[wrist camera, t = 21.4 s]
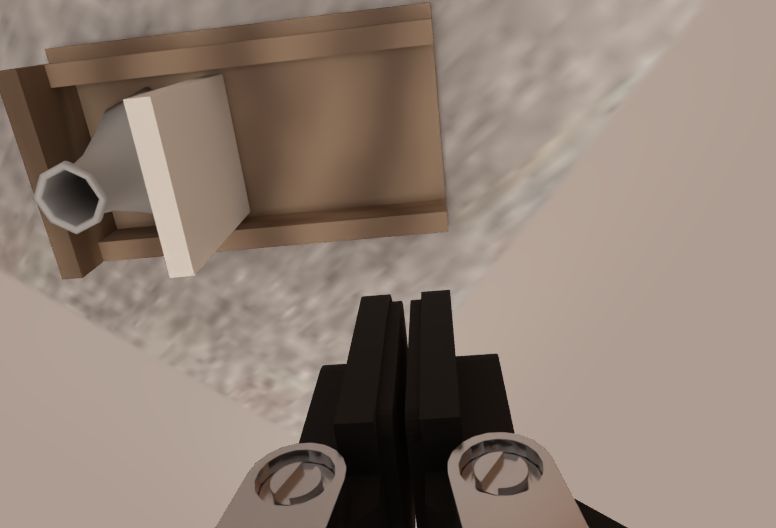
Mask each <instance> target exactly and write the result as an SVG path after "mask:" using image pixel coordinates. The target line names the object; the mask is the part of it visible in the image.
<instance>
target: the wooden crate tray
mask: <svg viewBox="0 0 776 528" xmlns="http://www.w3.org/2000/svg"><path fill="white" fill-rule="evenodd" d="M45 51H46V55H47V58H48V61H49V64H43V65H36V66H29V67H23V68H16V69H9V70H2V71H0V93H1V96H2V99H3V102H4V105H5V108H6V111H7V114H8V117H9V120H10V123H11V126H12V129H13V132H14V135H15V138H16V141H17V144H18V147H19V150H20V153H21V156H22V159H23V162H24V165H25V168H26V171H27V174H28V177H29V180H30V183H31V186H32V189H33V192H34V194H35V190H36V187H37V183H38V180H39V176H40V174H42V173H43V172H45V171H47V170H49V169H51V168H52V167H54V166H56V165H58V164H60V163H61V162H63V161H69V162H71V163H73V164H74V163H75V162H76V161H77V160H78V159H79V158H80V157H82V156H83V154H84V152H85V150H86V149H87V147H88V145H89V143H90V141H91V140H92V138H93V136H94V134H95V132H96V130H97V127H98V125H99V123H100V121H101V118H102V116H103V114H104V112H105V110H106V109H108V108H110V107H111V106H113V105H115V104H117V103H118V102H120V101H122V100H123V99H125V98H127V97H129V96H131V95H132V94H134V93H136V92H138V91H139V90H141V89H143V88H145V87H147V88H149V89H151V90H156V89H160V88H163V87H166V86H170V85H173V84H176V83H180V82H183V81H187V80H190V79H193V78H197V77H200V76H206V75H214V74H223V79H224V84H225V89H226V94H227V98H228V103H229V108H230V113H231V118H232V123H233V128H234V133H235V138H236V143H237V148H238V153H239V158H240V163H241V168H242V173H243V178H244V183H245V187H246V192H247V197H248V202H249V207H250V213H249V214H248V215H247V216H246V217H245V218H244V219H243V221H242V222H241V223H240V224H239V225H238V226H237V228H236V229H235V230H234V231H233V232H232V233H231V234H230V236H229V237H228V238H227V239H226V240H225V241H224V242H223V244H222V245H221V246H220V247H219V248H218V249H217V251H229V250H240V249H252V248H263V247H275V246H287V245H298V244H310V243H321V242H333V241H345V240H356V239H368V238H379V237H391V236H402V235H414V234H426V233H437V232H448V220H447V208H446V198H445V186H444V173H443V161H442V148H441V136H440V123H439V110H438V98H437V85H436V73H435V60H434V48H433V31H432V19H431V10H430V2H429V3H420V4H412V5H404V6H396V7H387V8H379V9H371V10H363V11H354V12H346V13H338V14H330V15H321V16H313V17H305V18H297V19H288V20H280V21H272V22H264V23H255V24H247V25H239V26H231V27H222V28H214V29H206V30H198V31H190V32H181V33H173V34H165V35H157V36H148V37H140V38H132V39H124V40H115V41H107V42H99V43H91V44H82V45H74V46H66V47H58V48H49V49H45ZM38 207H39V206H38ZM39 210H40V213H41V216H42V219H43V222H44V225H45V228H46V231H47V234H48V237H49V240H50V243H51V246H52V249H53V252H54V255H55V258H56V261H57V264H58V267H59V270H60V273H61V276H62V279H74V278H83V277H84V276H86V275H87V274H88V273H89V272H91V271H92V270H93V269H94V268H96V267H97V266H98V265H100V264H101V263H102V262H103V261H113V260H124V259H136V258H148V257H159V256H164V254H163V250H162V246H161V242H160V239H159V235H158V231H157V227H156V223H155V220H154V216H153V214H151V213H143V212H133V211H111V212H107V213H104V215H103V218H102V220H101V222H99V223H97V224H95V225H93V226H92V227H90V228H88V229H86V230H84V231H82V232H80V233H78V234H75V233H72V232H70V231H68V230H66V229H64V228H62V227H59V226H57V225H55V224H53V223H51V222H50V221H49V220H48V218H47V217H46V216H45V214H44V213H43V211H42V210H41V209H40V207H39ZM217 251H216V252H217Z"/></svg>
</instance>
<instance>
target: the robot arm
mask: <svg viewBox="0 0 776 528" xmlns="http://www.w3.org/2000/svg"><path fill="white" fill-rule="evenodd" d="M415 515H416V522H417V528H627V527H625V526H623V525H621V524H620V523H618V522H616V521H614V520H612V519H611V518H609V517H607V516H605V515H603V514H601V513H600V512H598V511H596V510H594V509H592V508H590V507H589V506H587V505H585V504H583V503H581V502H580V501H578V500H576V499H574V498H573V496H572V494H571V492H570V490H569V488H568V486H567V484H566V482H565V480H564V478H563V477H562V475H561V473H560V471H559V469H558V467H557V465H556V463H555V461H554V459H553V457H552V456H551V455H550V454H549V452H548V451H547V450H546V448H544V447H543V446H542V445H540V444H539V443H537V442H536V441H534V440H533V439H530V438H527V437H525V436H522V435H519V434H514V429H513V424H512V420H511V414H510V410H509V405H508V400H507V395H506V390H505V386H504V381H503V376H502V371H501V366H500V362H499V357H498V354H485V355H471V356H455V345H454V333H453V321H452V309H451V297H450V290H441V291H428V292H422V293H421V300H411V305H410V324H409V343H408V344H407V335H406V326H405V318H404V309H403V303H402V301H396V302H392V298H391V295H377V296H364V297H362V298H361V302H360V306H359V311H358V315H357V320H356V324H355V329H354V333H353V338H352V342H351V346H350V351H349V355H348V360H347V364H337V365H324V366H322V368H321V370H320V373H319V376H318V380H317V383H316V387H315V390H314V393H313V397H312V400H311V404H310V407H309V411H308V414H307V417H306V421H305V424H304V428H303V431H302V434H301V438H300V441H299V443H298V444H294V445H289V446H285V447H282V448H279V449H278V450H275V451H273V452H271V453H269V454H267V455H266V456H265V457H263V458H262V459H260V460H259V461H258V462H256V463H255V465H254V466H253V467H252V468H251V470H250V471H249V472H248V474H247V475H246V477H245V479H244V480H243V482H242V483H241V485H240V487H239V488H238V490H237V492H236V494H235V495H234V497H233V499H232V500H231V502H230V504H229V505H228V507H227V509H226V511H225V512H224V514H223V516H222V517H221V519H220V521H219V523H218V524H217V526H216V527H215V528H415Z"/></svg>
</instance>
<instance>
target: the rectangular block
mask: <svg viewBox="0 0 776 528" xmlns="http://www.w3.org/2000/svg"><path fill="white" fill-rule="evenodd" d="M123 102H124V106H125V110H126V113H127V117H128V121H129V125H130V129H131V132H132V136H133V140H134V144H135V147H136V151H137V155H138V159H139V163H140V166H141V170H142V174H143V178H144V182H145V185H146V189H147V193H148V197H149V201H150V204H151V208H152V212H153V216H154V220H155V223H156V227H157V231H158V235H159V239H160V242H161V246H162V250H163V254H164V258H165V261H166V265H167V269H168V273H169V277H170V278H175V277H187V276H195V275H196V274H197V272H198V271H199V270H200V269H201V268H202V267H203V265H204V264H205V263H206V262H207V261H208V260H209V259H210V257H211V256H212V255H213V254H214V253H215V252H216V251H217V249H218V248H219V247H220V246H221V245H222V244H223V242H224V241H225V240H226V239H227V238H228V237H229V236H230V234H231V233H232V232H233V231H234V230H235V229H236V228H237V226H238V225H239V224H240V223H241V222H242V221H243V219H244V218H245V217H246V216H247V215H248V214H249V213H250V207H249V202H248V197H247V192H246V187H245V183H244V178H243V173H242V168H241V163H240V158H239V153H238V148H237V143H236V138H235V133H234V128H233V123H232V118H231V113H230V108H229V103H228V98H227V94H226V89H225V84H224V79H223V74H214V75H206V76H200V77H197V78H193V79H190V80H187V81H183V82H180V83H176V84H173V85H170V86H166V87H163V88H160V89H156V90H153V91H150V92H146V93H143V94H139V95H136V96H133V97H129V98H126V99H123Z"/></svg>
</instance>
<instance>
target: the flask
mask: <svg viewBox="0 0 776 528" xmlns="http://www.w3.org/2000/svg"><path fill="white" fill-rule="evenodd" d="M150 91H153V90H151V89H149V88H147V87H145V88H143V89H141V90H139V91H138V92H136V93H134V94H132V95H131V96H129V97H133V96H136V95H139V94H143V93H146V92H150ZM129 97H127V98H129ZM125 99H126V98H125ZM33 199H34V200H35V202H36V203H37V205H38V206H39V207H40V209H41V210H42V211H43V213H44V214H45V216H46V217H47V218H48V220H49V221H50V222H51V223H53V224H55V225H57V226H59V227H62V228H64V229H66V230H68V231H70V232H72V233H75V234H78V233H80V232H82V231H84V230H86V229H88V228H90V227H92V226H93V225H95V224H97V223H99V222H101V220H102V218H103V215H104V213H107V212H111V211H133V212H143V213H151V214H153V212H152V208H151V204H150V201H149V197H148V193H147V189H146V185H145V182H144V178H143V174H142V170H141V166H140V163H139V159H138V155H137V151H136V147H135V144H134V140H133V136H132V132H131V129H130V125H129V121H128V117H127V113H126V110H125V106H124V102H123V100H122V101H120V102H118V103H117V104H115V105H113V106H111V107H110V108H108V109H106V110H105V112H104V114H103V116H102V118H101V121H100V123H99V125H98V127H97V130H96V132H95V134H94V136H93V138H92V140H91V141H90V143H89V145H88V147H87V149H86V150H85V152H84V154H83V156H82V157H80V158H79V159H78V160H77V161H76V162H75V163H74V164H73V163H71V162H69V161H63V162H61V163H60V164H58V165H56V166H54V167H52V168H51V169H49V170H47V171H45V172H43V173H42V174H40V176H39V180H38V183H37V187H36V190H35V194H34V198H33Z"/></svg>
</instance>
